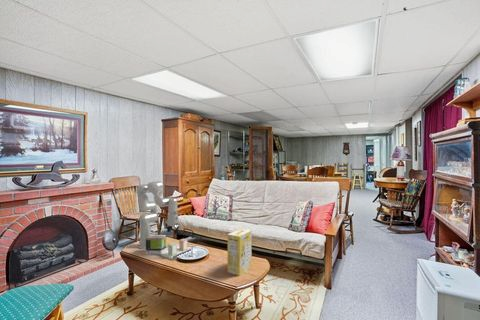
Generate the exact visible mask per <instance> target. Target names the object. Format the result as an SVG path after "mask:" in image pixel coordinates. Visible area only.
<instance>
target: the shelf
mask: <svg viewBox="0 0 480 320" xmlns="http://www.w3.org/2000/svg"><path fill="white" fill-rule="evenodd" d="M176 244H177V253H179V252H180V253H179V254H176V255H174V256H170V255H168V247H166V249H163V250H161V255H160V257H163V258H166V259H169V260H172V261H176V260H177V256H179V255H181V254H184V253H186V252H189V251H191V252H192V248H190V249H188V248H187V250H186V251H181V250H179V243H176Z"/></svg>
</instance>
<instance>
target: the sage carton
mask: <svg viewBox="0 0 480 320" xmlns="http://www.w3.org/2000/svg"><path fill="white" fill-rule="evenodd" d="M167 244H168V245H167V248H168V255H170V256H174V255H176V254H177V244H178V243H175V242H170V243H167Z"/></svg>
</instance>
